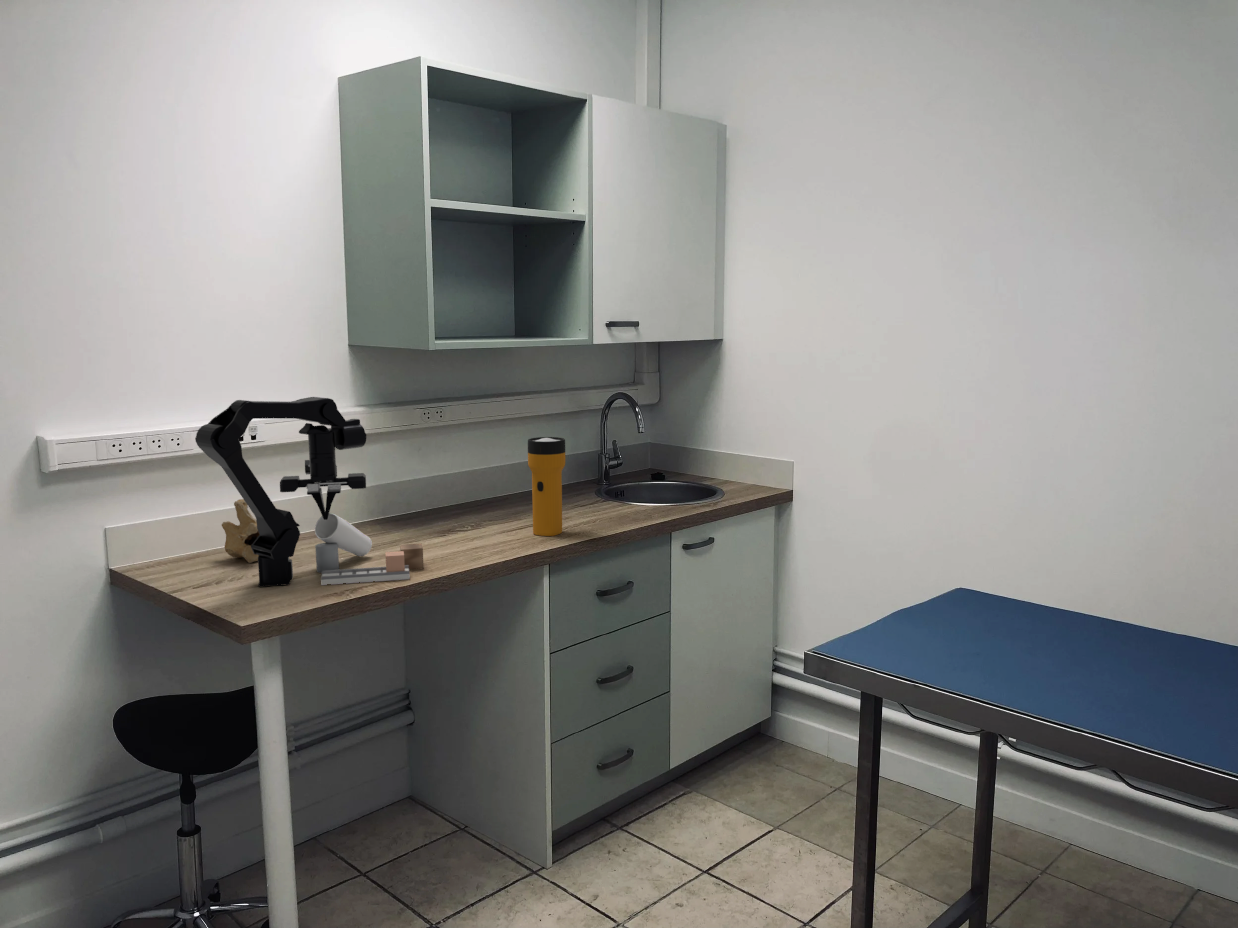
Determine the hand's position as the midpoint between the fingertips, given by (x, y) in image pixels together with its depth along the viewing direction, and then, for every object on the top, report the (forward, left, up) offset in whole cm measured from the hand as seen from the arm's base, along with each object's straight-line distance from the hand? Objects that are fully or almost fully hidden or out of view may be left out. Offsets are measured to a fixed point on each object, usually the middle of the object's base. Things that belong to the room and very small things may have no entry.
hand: (325, 519), depth 224 cm
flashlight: (+56, +24, -12) cm, 62 cm away
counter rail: (+8, -10, -12) cm, 18 cm away
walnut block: (+19, -2, -12) cm, 23 cm away
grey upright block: (0, 0, -12) cm, 12 cm away
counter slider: (+15, -10, -11) cm, 21 cm away
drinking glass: (+8, +12, -10) cm, 17 cm away
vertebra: (-19, +15, -12) cm, 27 cm away
